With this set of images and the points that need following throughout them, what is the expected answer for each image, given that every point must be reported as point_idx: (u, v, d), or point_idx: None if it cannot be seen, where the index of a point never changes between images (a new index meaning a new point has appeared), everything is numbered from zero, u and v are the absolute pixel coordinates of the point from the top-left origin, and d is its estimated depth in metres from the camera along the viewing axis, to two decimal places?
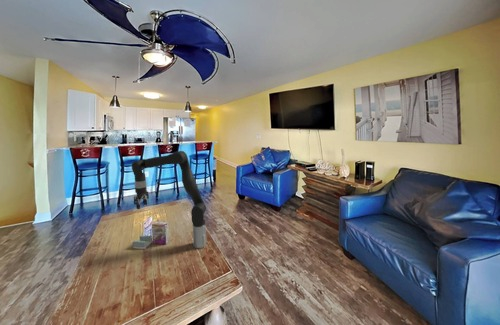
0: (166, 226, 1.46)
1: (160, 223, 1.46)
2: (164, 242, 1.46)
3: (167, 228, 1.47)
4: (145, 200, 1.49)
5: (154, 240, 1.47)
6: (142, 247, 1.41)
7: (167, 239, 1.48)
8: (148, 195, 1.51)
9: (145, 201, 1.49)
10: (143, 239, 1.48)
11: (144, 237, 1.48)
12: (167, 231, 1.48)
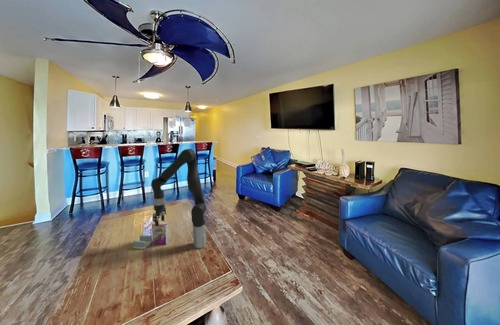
0: (166, 226, 1.46)
1: (160, 223, 1.46)
2: (164, 242, 1.46)
3: (167, 228, 1.47)
4: (162, 216, 1.50)
5: (154, 240, 1.47)
6: (142, 247, 1.41)
7: (167, 239, 1.48)
8: (165, 211, 1.52)
9: (162, 217, 1.50)
10: (143, 239, 1.48)
11: (144, 237, 1.48)
12: (167, 231, 1.48)
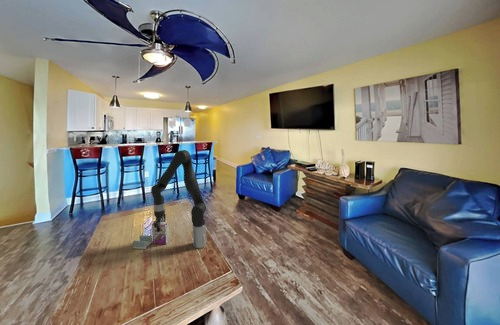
0: (166, 226, 1.46)
1: None
2: (164, 242, 1.46)
3: (167, 228, 1.47)
4: None
5: (154, 240, 1.47)
6: (142, 247, 1.41)
7: (167, 239, 1.48)
8: (165, 218, 1.52)
9: None
10: (143, 239, 1.48)
11: (144, 237, 1.48)
12: (167, 231, 1.48)
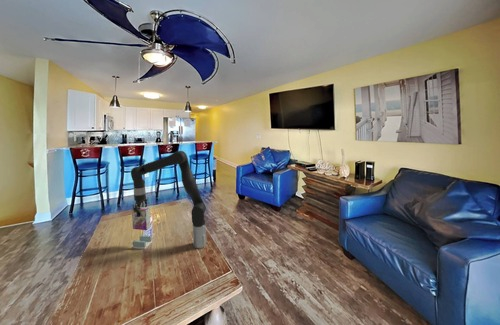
0: (147, 211, 1.40)
1: (141, 208, 1.41)
2: (145, 228, 1.41)
3: (148, 213, 1.42)
4: None
5: (134, 225, 1.41)
6: (142, 247, 1.41)
7: (148, 225, 1.43)
8: None
9: None
10: (143, 239, 1.48)
11: (144, 237, 1.48)
12: (148, 216, 1.42)
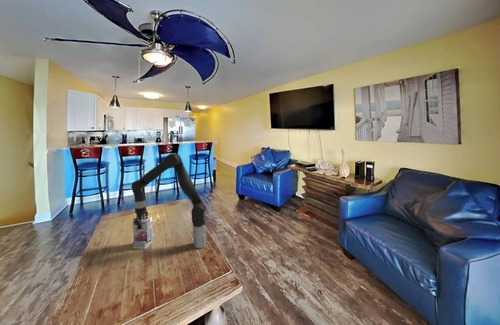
0: (147, 223, 1.42)
1: None
2: (145, 240, 1.42)
3: (149, 226, 1.43)
4: None
5: (135, 238, 1.43)
6: (142, 247, 1.41)
7: (149, 237, 1.44)
8: (147, 215, 1.48)
9: None
10: None
11: None
12: (149, 229, 1.43)
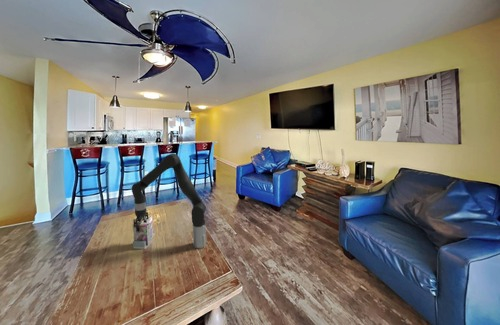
0: (148, 226, 1.42)
1: (142, 223, 1.42)
2: (146, 243, 1.42)
3: (149, 229, 1.43)
4: (145, 221, 1.47)
5: None
6: (142, 247, 1.41)
7: (149, 240, 1.44)
8: None
9: (145, 222, 1.47)
10: None
11: None
12: (149, 232, 1.44)
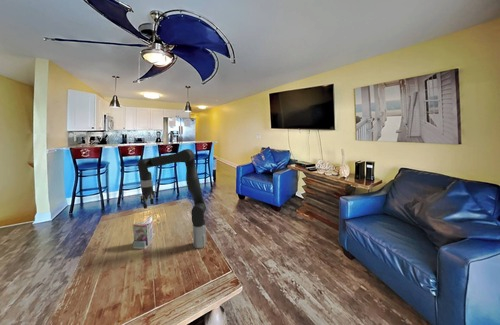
0: (148, 226, 1.42)
1: (142, 223, 1.42)
2: (146, 243, 1.42)
3: (149, 229, 1.43)
4: (151, 199, 1.47)
5: None
6: (142, 247, 1.41)
7: (149, 240, 1.44)
8: (154, 194, 1.49)
9: (151, 200, 1.47)
10: None
11: None
12: (149, 232, 1.44)
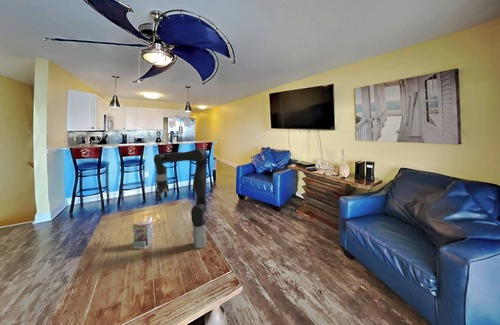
0: (148, 226, 1.42)
1: (142, 223, 1.42)
2: (146, 243, 1.42)
3: (149, 229, 1.43)
4: (165, 193, 1.51)
5: None
6: (142, 247, 1.41)
7: (149, 240, 1.44)
8: (168, 188, 1.54)
9: (165, 194, 1.51)
10: None
11: None
12: (149, 232, 1.44)
